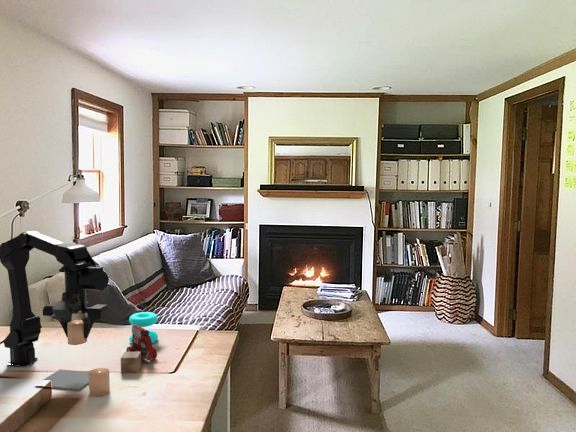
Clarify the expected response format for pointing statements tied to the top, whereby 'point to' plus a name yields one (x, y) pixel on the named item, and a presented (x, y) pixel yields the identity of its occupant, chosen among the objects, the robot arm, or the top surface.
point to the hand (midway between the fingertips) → (77, 337)
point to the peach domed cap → (99, 382)
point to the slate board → (69, 379)
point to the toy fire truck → (142, 343)
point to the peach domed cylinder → (76, 332)
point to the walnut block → (130, 362)
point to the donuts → (144, 323)
